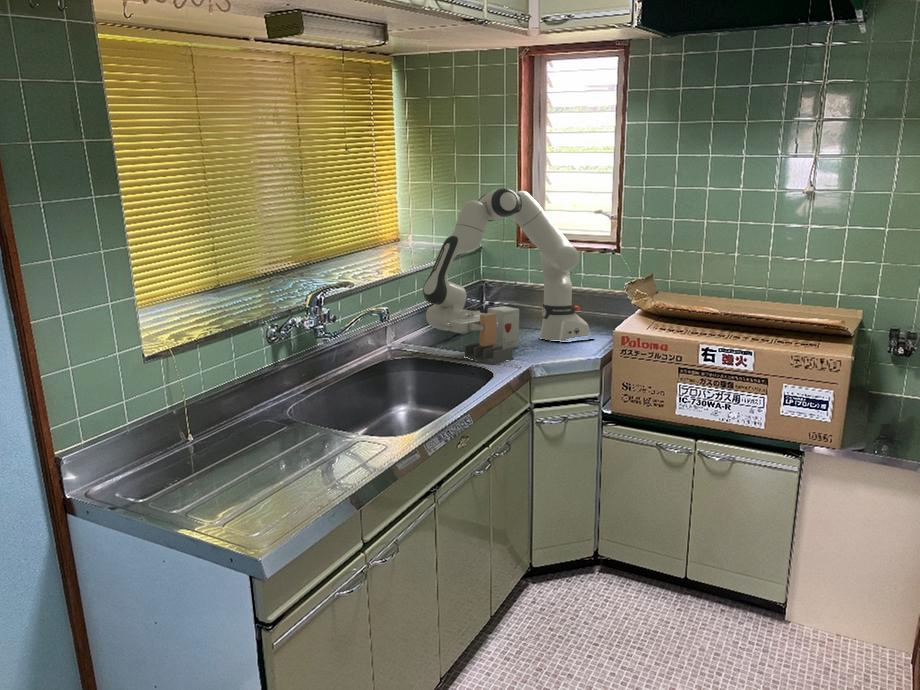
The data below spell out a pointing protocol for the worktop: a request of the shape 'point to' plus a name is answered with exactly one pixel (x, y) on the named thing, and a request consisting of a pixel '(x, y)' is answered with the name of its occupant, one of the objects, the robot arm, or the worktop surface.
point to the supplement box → (506, 326)
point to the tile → (488, 329)
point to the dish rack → (488, 353)
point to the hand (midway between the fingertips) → (490, 326)
